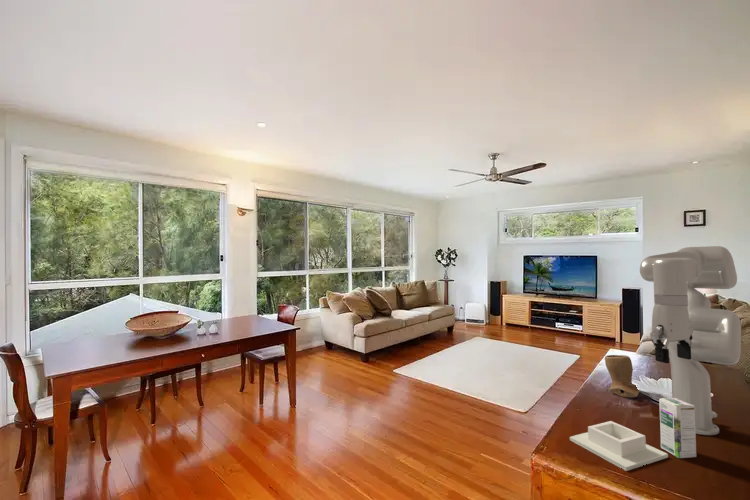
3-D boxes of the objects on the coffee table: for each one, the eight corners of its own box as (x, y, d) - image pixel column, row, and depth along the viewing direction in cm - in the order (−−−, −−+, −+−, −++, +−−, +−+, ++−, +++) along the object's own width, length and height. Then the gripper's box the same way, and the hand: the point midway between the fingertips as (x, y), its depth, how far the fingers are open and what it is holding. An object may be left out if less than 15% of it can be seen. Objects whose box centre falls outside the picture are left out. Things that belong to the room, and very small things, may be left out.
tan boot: (608, 383, 154) (607, 350, 154) (642, 390, 146) (640, 354, 146) (601, 393, 143) (600, 357, 143) (637, 401, 135) (635, 362, 135)
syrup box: (659, 447, 101) (657, 397, 102) (678, 446, 102) (676, 396, 102) (678, 458, 96) (676, 406, 96) (698, 457, 96) (695, 404, 97)
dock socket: (608, 430, 112) (607, 414, 112) (668, 457, 96) (667, 439, 97) (569, 440, 106) (569, 423, 107) (626, 471, 91) (625, 451, 91)
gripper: (675, 298, 107) (677, 353, 106) (636, 301, 101) (639, 360, 100) (705, 300, 100) (708, 360, 99) (665, 303, 94) (668, 367, 93)
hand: (673, 360), depth 100 cm, fingers open, 9 cm apart
